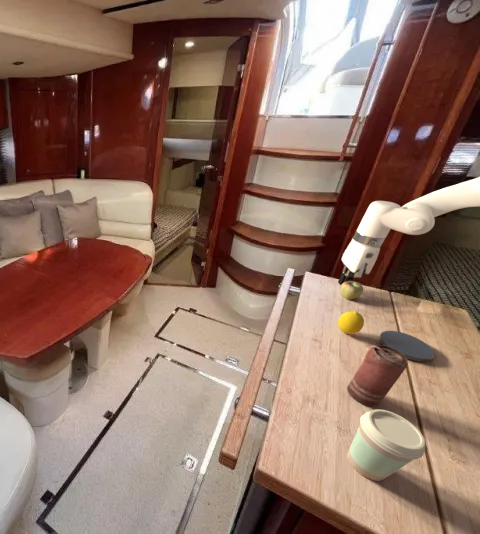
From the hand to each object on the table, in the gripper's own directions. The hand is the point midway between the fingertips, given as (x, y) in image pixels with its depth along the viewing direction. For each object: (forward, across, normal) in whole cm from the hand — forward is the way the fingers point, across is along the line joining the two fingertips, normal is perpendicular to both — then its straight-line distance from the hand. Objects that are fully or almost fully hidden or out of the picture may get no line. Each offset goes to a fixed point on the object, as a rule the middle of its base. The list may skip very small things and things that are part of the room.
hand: (343, 284), depth 110 cm
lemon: (+2, -27, +9) cm, 28 cm away
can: (+2, -51, +15) cm, 53 cm away
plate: (+2, -30, -4) cm, 30 cm away
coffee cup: (+2, -69, +21) cm, 72 cm away
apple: (+2, -5, 0) cm, 5 cm away
